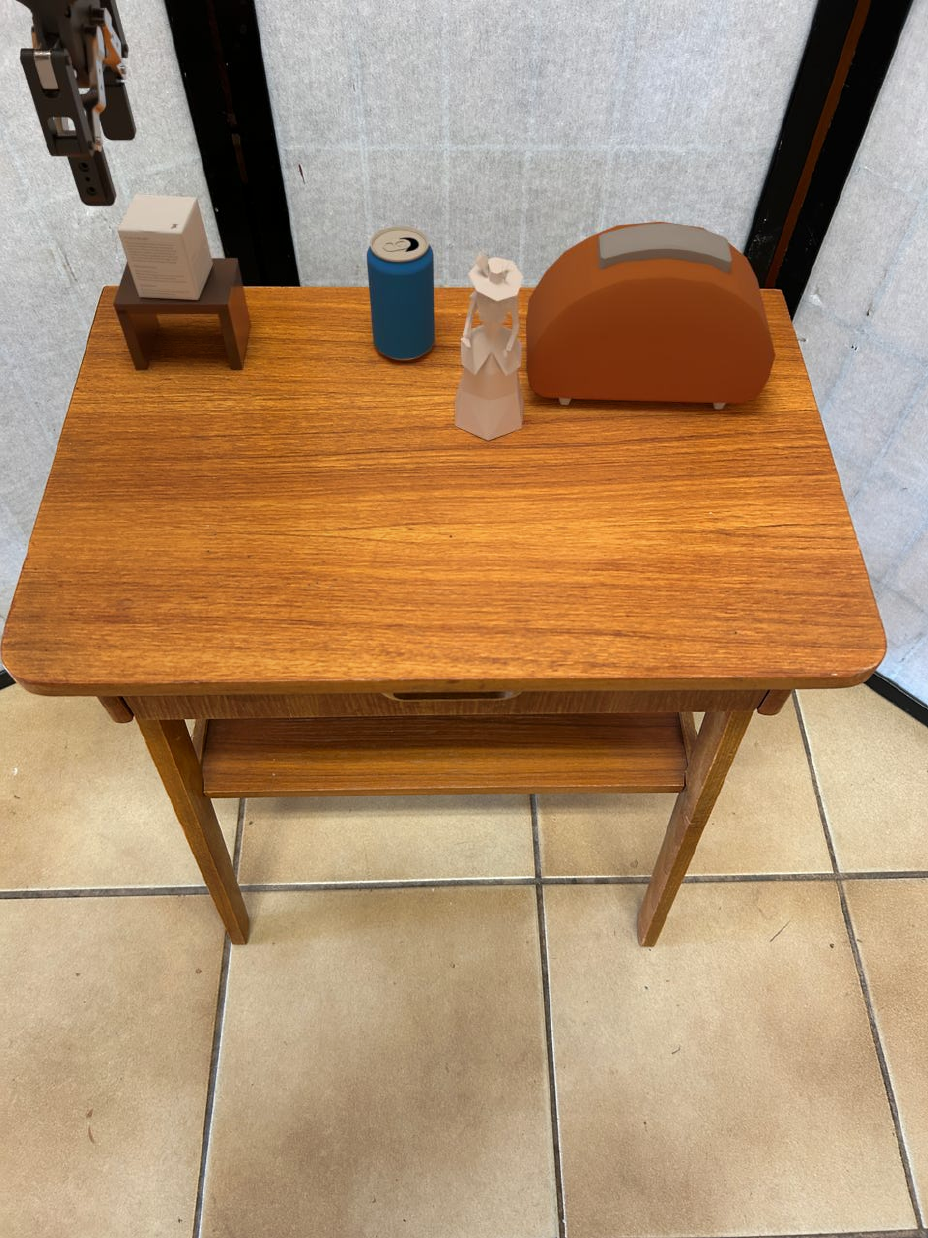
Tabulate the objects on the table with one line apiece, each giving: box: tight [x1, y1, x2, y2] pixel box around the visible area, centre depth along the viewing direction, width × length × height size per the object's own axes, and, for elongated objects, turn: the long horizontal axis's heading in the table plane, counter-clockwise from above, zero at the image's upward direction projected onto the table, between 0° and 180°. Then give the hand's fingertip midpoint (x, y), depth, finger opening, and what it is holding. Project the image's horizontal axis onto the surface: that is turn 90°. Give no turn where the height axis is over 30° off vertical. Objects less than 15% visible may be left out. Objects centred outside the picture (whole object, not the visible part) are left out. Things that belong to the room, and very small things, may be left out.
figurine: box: [454, 251, 525, 442], centre depth 87 cm, size 7×8×18 cm
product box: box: [116, 193, 213, 300], centre depth 91 cm, size 6×6×7 cm
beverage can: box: [366, 225, 436, 361], centre depth 96 cm, size 6×6×12 cm
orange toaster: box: [525, 221, 776, 410], centre depth 91 cm, size 23×9×17 cm, turn 88°
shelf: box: [112, 257, 252, 371], centre depth 97 cm, size 8×11×8 cm
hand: (111, 169), depth 66 cm, fingers open, 8 cm apart
